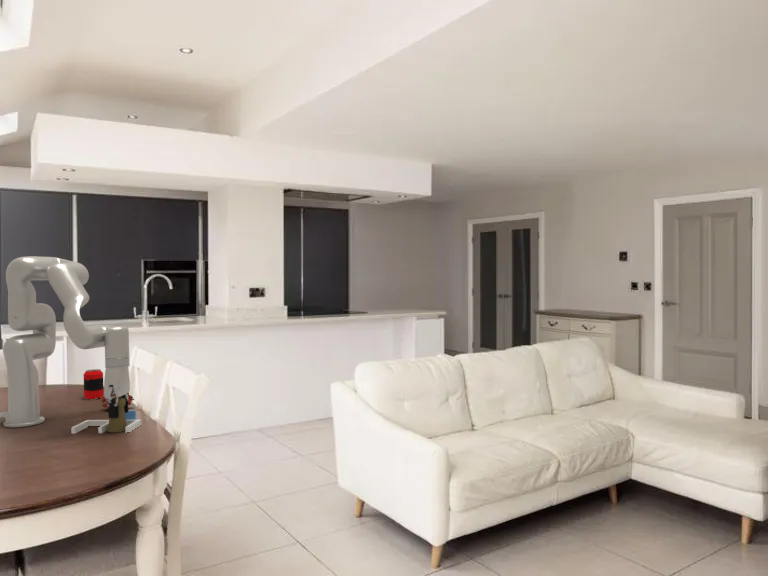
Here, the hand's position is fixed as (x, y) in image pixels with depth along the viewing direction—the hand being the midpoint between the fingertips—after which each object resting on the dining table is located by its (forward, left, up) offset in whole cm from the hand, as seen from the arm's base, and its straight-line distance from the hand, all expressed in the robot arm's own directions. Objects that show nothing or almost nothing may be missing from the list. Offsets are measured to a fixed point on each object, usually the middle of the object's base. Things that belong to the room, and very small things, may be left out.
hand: (118, 414), depth 205 cm
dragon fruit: (-14, +31, -5) cm, 35 cm away
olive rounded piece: (0, -1, -5) cm, 5 cm away
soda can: (-34, +53, -5) cm, 64 cm away
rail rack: (-4, +1, -5) cm, 7 cm away
